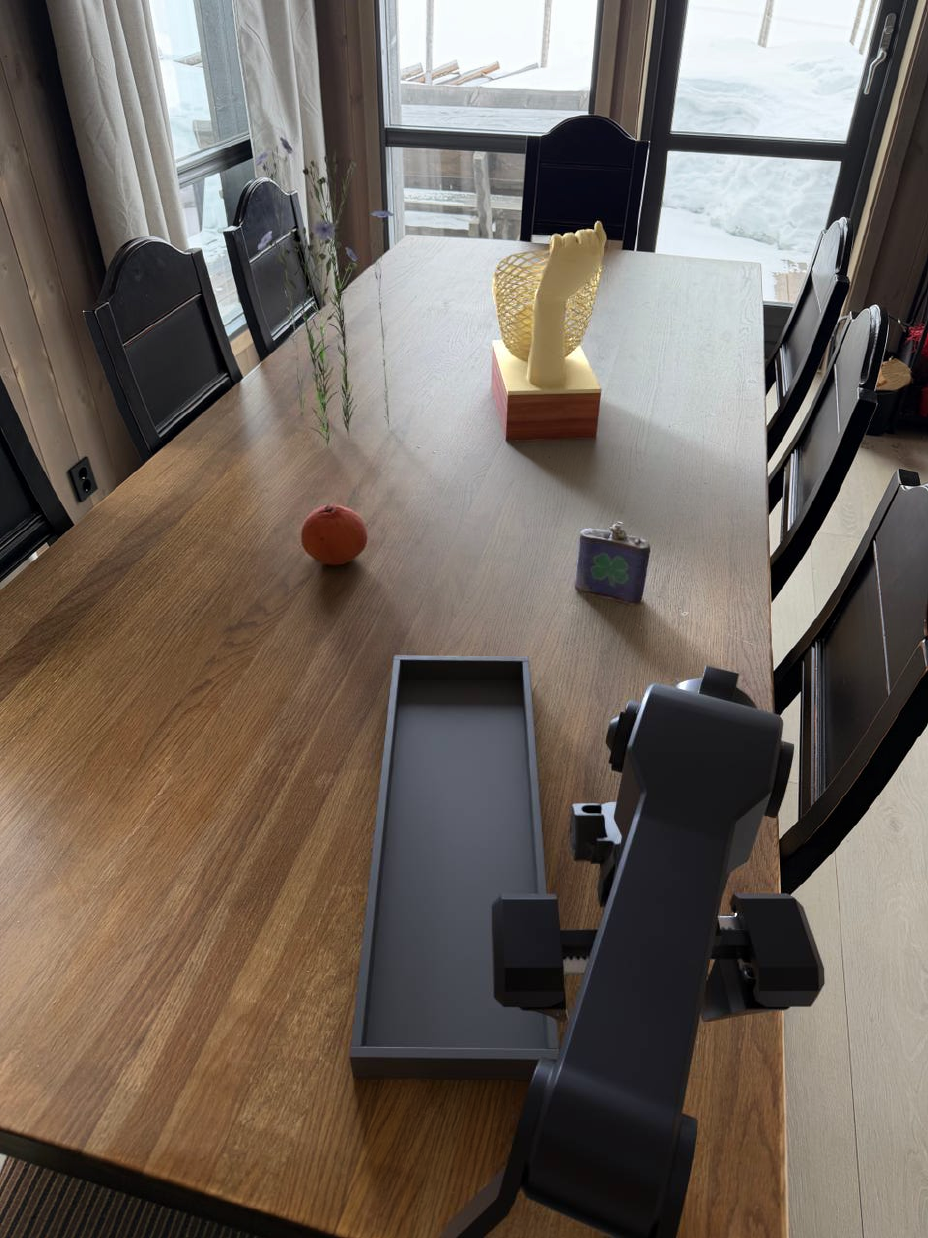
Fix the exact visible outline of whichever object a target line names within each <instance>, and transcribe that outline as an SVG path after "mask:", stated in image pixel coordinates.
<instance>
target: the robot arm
mask: <svg viewBox="0 0 928 1238" xmlns="http://www.w3.org/2000/svg"><path fill="white" fill-rule="evenodd" d="M702 673H703V674H702V677H698V678H691V679H687V680H684V681H681V682H678V683H677V684H676V685H674V686H672V685H668V684H665V683H659V682H655V681H654V682H651V683H650V684H648V686H647V688H646V690H645V693H644V695H643V697H642V698H643V699H642V701H641V702H640V701H637V700H632V699H629V700H628V701H627V704H626V706H625V709H623V710H622V709H621V710H620V712H619V715H616V716H615V717H613V718H612V719H611V720H610V722H609V725H608V728H607V731H606V736H605V742H604V743H605V744H606V746H607V748H608V750H609V752H610V754H609V759H608V764H610V765H611V766H610V769H611V771H613V772H616V773H618V774H621V776H620V783H619V787H618V792H617V797H616V801H608V802H604V803H602V804H601V803H597V802H593V803H592V802H591V803H590V802H589V803H587V802H586V803H581V802H580V803H575V802H574V803H573V804H572V807H571V813H570V817H569V818H570V819H569V843H570V849H571V854H572V858H573V861H574V862H575V863H576V862H578V863H579V862H581V863H582V862H584V863H587V862H588V863H590V865H599V870H600V871H599V876H598V883H597V889H596V892H597V897H598V905H599V908H604V910H603V913H602V916H601V919H600V922H599V925H598V929H593V928H592V929H581V928H579V929H572V928H571V929H569V928H568V929H564V928H563V929H561V923H560V913H559V902H558V901H559V900H558V897H557V895H556V893H547V894H500V895H499V897H498V898H497V899H496V900H495V901H494V902H493V903H492V918H491V919H492V954H493V990H494V998H495V999H496V1000H497V1001H498V1002H499V1003H500V1004H501V1005H502V1006H503V1007H518V1008H519V1009H521V1010H523V1011H535V1012H538V1013H541V1014H544V1015H547V1016H550V1017H552V1018H554V1019H556V1020H557V1022H559V1023H567V1025H566V1029H565V1032H564V1034H563V1038H562V1041H561V1044H560V1046H559V1054H558V1057H557V1060H556V1062H555V1061H553V1060H550V1059H548V1058H545V1057H543V1056H542V1057H541V1058H540V1060H539V1062H538V1064H537V1067H536V1069H535V1072H534V1075H533V1077H532V1080H531V1081H530V1083H529V1086H528V1088H527V1092H526V1095H525V1099H524V1101H523V1105H522V1108H521V1111H520V1115H519V1117H518V1122H517V1125H516V1128H515V1131H514V1135H513V1139H512V1143H511V1146H510V1150H509V1153H508V1157H507V1160H506V1161H507V1162H506V1164H505V1167H503V1168H502V1169H501V1170H500V1171H499V1172H498V1173H497V1174H495V1176H494V1177H493V1178H492V1179H490V1181H489V1182H488V1183H487V1184H486V1185H485V1186H484V1187H483V1188H482V1189H481V1190H480V1191H479V1192H477V1193H476V1194H475V1195H474V1196H473V1197H472V1198H471V1199H470V1200H469V1201H468V1202H466V1204H465V1205H464V1206H463V1207H462V1208H461V1209H460V1210H459V1211H458V1212H457V1213H455V1215H453V1216H452V1217H451V1218H450V1220H448V1221H447V1223H446V1225H445V1227H444V1229H443V1230H442V1231H441V1233H440V1235H439V1237H438V1238H486V1237H487V1236H488V1235H489V1234H490V1233H491V1232H492V1231H493V1230H494V1229H495V1228H496V1227H497V1226H498V1225H499V1224H500V1223H502V1221H504V1219H506V1217H507V1216H508V1215H509V1213H510V1212H511V1210H512V1208H513V1207H514V1205H515V1203H516V1201H517V1198H518V1197H519V1194H520V1192H521V1190H522V1193H523V1195H524V1197H525V1199H527V1200H530V1201H531V1202H534V1203H536V1204H538V1205H540V1206H543V1207H545V1208H547V1209H549V1210H550V1211H551V1210H552V1211H554V1212H556V1213H558V1214H560V1215H562V1216H565V1217H567V1218H569V1219H571V1220H573V1221H576V1222H578V1223H580V1224H582V1225H583V1226H586V1227H588V1228H591V1229H593V1230H595V1231H597V1232H599V1233H602V1234H604V1235H606V1236H607V1237H608V1236H609V1237H611V1238H677V1236H678V1232H679V1228H680V1223H681V1219H682V1216H683V1211H684V1207H685V1202H686V1198H687V1193H688V1189H689V1184H690V1181H691V1179H690V1178H691V1175H692V1169H693V1163H694V1158H695V1152H696V1147H697V1146H696V1145H697V1137H698V1128H699V1127H698V1125H699V1120H698V1119H697V1118H696V1117H694V1116H692V1115H689V1114H687V1113H685V1112H684V1113H683V1110H684V1105H685V1099H686V1095H687V1089H688V1083H689V1078H690V1077H689V1076H690V1073H691V1067H692V1062H693V1056H694V1051H695V1046H696V1040H697V1034H698V1030H699V1023H700V1019H701V1022H702V1023H711V1022H716V1021H722V1020H726V1019H731V1018H736V1017H737V1018H738V1017H743V1016H750V1015H757V1014H763V1013H770V1012H777V1011H778V1012H779V1011H780V1012H782V1011H787V1010H789V1009H790V1008H811V1007H812V1006H813V1005H814V1003H815V1002H816V1000H817V999H818V997H819V995H820V993H821V992H822V989H823V988H824V986H825V984H826V981H825V980H826V979H825V967H824V964H823V961H822V958H821V955H820V952H819V949H818V946H817V943H816V940H815V937H814V934H813V931H812V928H811V925H810V923H809V920H808V917H807V914H806V911H805V907H804V906H803V905H802V904H801V903H800V901H798V900H797V899H796V898H795V897H794V896H793V895H790V894H789V893H787V892H786V893H782V892H780V893H777V892H776V893H773V892H771V893H765V892H764V893H759V892H758V893H755V892H754V893H748V892H747V893H739V892H738V893H734V892H733V893H732V894H731V898H730V900H729V907H730V910H731V912H732V913H734V914H721V916H719V915H720V910H721V905H722V899H723V897H724V896H723V895H724V893H725V889H726V887H727V884H728V881H729V877H730V876H731V873H732V872H733V871H736V869H738V868H740V867H741V866H743V865H744V864H746V863H748V861H749V860H750V858H751V855H752V852H753V848H754V846H755V843H756V840H757V837H758V834H759V831H760V828H761V825H762V822H763V819H764V816H765V817H768V818H772V819H774V820H775V819H776V818H777V817H778V815H779V812H780V810H781V807H782V804H783V801H784V798H785V795H786V792H787V787H788V784H789V780H790V775H791V771H792V765H793V760H794V755H795V754H794V753H795V744H794V743H792V742H790V741H789V742H788V741H784V740H782V739H783V738H782V737H783V732H784V731H783V730H784V720H783V718H782V717H781V715H780V714H777V713H773V712H770V711H767V710H764V709H759V708H758V707H757V704H756V703H755V702H754V701H753V700H752V698H751V697H750V696H749V694H747V693H746V692H744V691H743V690H741V689H740V688H738V687H737V686H738V685H737V684H738V681H739V676H740V674H739V673H737V672H734V671H730V670H727V669H722V668H718V667H713V666H711V665H705V666H704V670H703V672H702ZM711 960H714V961H713V964H712V966H711V969H710V964H711ZM709 970H710V971H709ZM569 975H570V976H575V975H576V976H581V975H582V978H581V981H580V985H579V988H578V991H577V994H576V998H575V1001H574V1004H573V1007H572V1010H571V1014H570V1015H569V1007H568V1005H569V1004H568V996H567V995H568V994H567V987H566V978H565V976H569Z"/></svg>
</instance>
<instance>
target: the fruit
mask: <svg viewBox="0 0 928 1238" xmlns="http://www.w3.org/2000/svg"><path fill="white" fill-rule="evenodd" d="M368 537H369V535H368V530H367V526H366V524H365V521H364V520H363V519H362V517H361V516H360V514H359V513H357V512H355V511H354V510H353V509H350V508H348V507H346V506H342V505H338V504H332V503H330V504H326V505H322V506H320V507H318V508H315V509H314V510H312V512H311V513H310V514H308V516H307V517H306V518H305V519H304V521H303V523H302V525H301V530H300V542H301V545H302V548H303V549H304V551H305V552H306V554H307V555H308V556H310V557H311V558H312V559H314V560H315V561H316V562H319V563H322V564H326V565H332V566H333V565H335V566H337V565H343V564H347V563H349V562H351V561H353V560H354V559H356V558H357V557H358V556H360V554H362V552H363V551H364V550H365V549H366V546H367V544H368Z"/></svg>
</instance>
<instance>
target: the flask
mask: <svg viewBox="0 0 928 1238" xmlns="http://www.w3.org/2000/svg"><path fill="white" fill-rule="evenodd" d="M623 526H624V522H621V521H617V522H616V521H613V525H612V526H610V527H609V530H604V529H596V528H584V529H582V530H581V531H580V533H579V538H578V540H579V541H578V544H579V545H578V551H577V558H576V559H577V560H576V565H575V569H576V570H575V575H574V577H575V578H574V590H575V591H578V592H580V593H582V594H584V595H592V596H594V597H595V596H596V597H598V598H601V599H612V600H613V601H620V602H622V603H624V604H629V605H631V606H635V605H641V603H642V600H643V596H644V591H645V586H646V579H647V573H648V566H649V561H650V555H651V545H650V543H649V541H648V540H645V539H642V538H640V537H639V536H635V535H630V534H628V533H627V531H625V530H624V529H622V527H623Z"/></svg>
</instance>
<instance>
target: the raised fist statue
mask: <svg viewBox="0 0 928 1238" xmlns="http://www.w3.org/2000/svg"><path fill="white" fill-rule="evenodd" d="M606 242H607V234H606V231H605V230H604V228H603V224H602V222H601V221H599V220H597V221H596V222H595V224H594V229H590V228H586V229H579V230H577V231H576V232H575V233H573V232H566V233H564V234H563V236H562V235H561V234H558V233H554V234H552V236H551V238H550V241H549V246H548V247H549V250H545V249H544V250H529V251H523V252H519V253H514V254H510V255H509V256H506V257H505V258H503V259H502V260H500V261H499V263H498V264H497V267H496V268H495V270H494V272H493V276H492V279H491V280H490V282H491V291H492V299H493V304H494V307H495V313H496V318H497V322H498V326H499V332H500V336H501V339H496V340H492V350H491V351H492V352H491V353H492V354H491V379H490V380H491V381H490V386H491V392H492V395H493V398H494V402H495V406H496V409H497V414H498V418H499V422H500V426H501V429H502V433H503V436H504V440H505V442H526V441H528V442H530V441H531V442H532V441H563V440H565V441H566V440H592V439H593V440H596V439H597V435H598V427H599V426H598V425H599V416H600V407H601V398H602V390H603V389H602V386H601V384H600V382H599V380H598V379H597V377H596V375H595V373H594V370H593V369H592V367H591V365H590V363H589V361H588V358H587V357H586V355H585V353H584V350H583V349H582V347H581V343H582V341H583V340H584V336H585V334H586V330H587V328H588V327H589V322H590V321H591V316H593V312H592V311H594V307H593V306H594V305H595V301H596V299H597V298H596V297H597V294H598V293H597V290H598V288H599V283H600V279H601V276H602V271H603V265H602V263H603V258H604V255H605V245H606ZM548 253H549V256H548V257H547V258H546V257H544V255H546V254H548ZM529 254H532V255H534V256H532V257H531V256H530V257H529V258H526V257H525V256H527V255H529ZM512 258H515V259H514V260H512V261H511V262H509V261H510V260H511V259H512ZM537 258H540V259H542V260H540V261H538V262H536V263H535V262H533V261H532V260H534V259H537ZM520 259H521V260H523V261H521V262H520V263H519V264H518V265H517V264H515V263H516V262H517V261H519V260H520ZM527 262H528V263H530V264H532V265H524V264H526V263H527ZM544 262H545V264H544V265H540V264H542V263H544ZM506 265H507V266H506ZM503 267H504V268H503ZM535 268H537V269H535ZM498 271H499V273H498ZM536 273H539V274H536ZM593 276H594V277H593ZM528 284H529V285H528ZM526 303H528V304H526ZM520 306H522V308H520ZM573 306H574V307H573ZM577 310H578V311H577ZM566 312H568V313H566ZM506 314H507V315H506ZM566 318H567V319H566ZM573 321H574V322H573ZM569 322H570V323H571V324H568V323H569ZM576 325H577V326H576ZM567 330H568V331H567Z"/></svg>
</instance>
